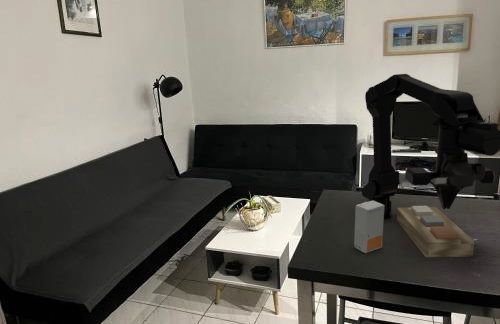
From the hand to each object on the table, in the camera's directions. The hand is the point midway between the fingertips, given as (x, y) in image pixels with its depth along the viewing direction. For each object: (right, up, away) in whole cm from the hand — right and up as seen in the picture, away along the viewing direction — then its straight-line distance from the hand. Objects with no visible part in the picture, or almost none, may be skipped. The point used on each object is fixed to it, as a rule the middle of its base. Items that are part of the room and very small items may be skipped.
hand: (445, 208), depth 93 cm
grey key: (+1, -6, +9) cm, 11 cm away
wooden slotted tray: (+1, -9, +10) cm, 13 cm away
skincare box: (-17, -11, +5) cm, 21 cm away
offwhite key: (+1, -4, +16) cm, 16 cm away
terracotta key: (0, -8, +2) cm, 8 cm away
